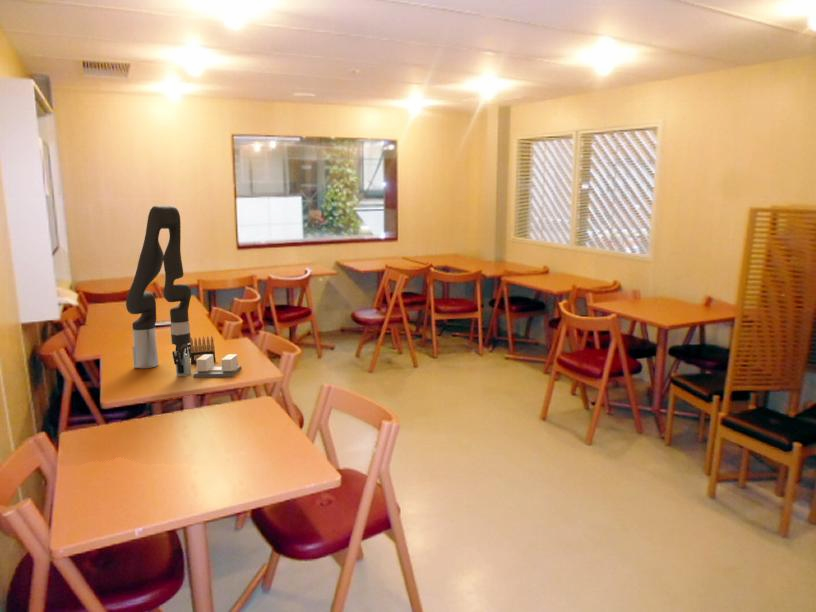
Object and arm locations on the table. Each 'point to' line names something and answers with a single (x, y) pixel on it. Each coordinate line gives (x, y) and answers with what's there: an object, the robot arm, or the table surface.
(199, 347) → the ammunition clip
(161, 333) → the table surface
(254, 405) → the table surface
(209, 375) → the mounting plate
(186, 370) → the module block
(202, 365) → the mounted modules
